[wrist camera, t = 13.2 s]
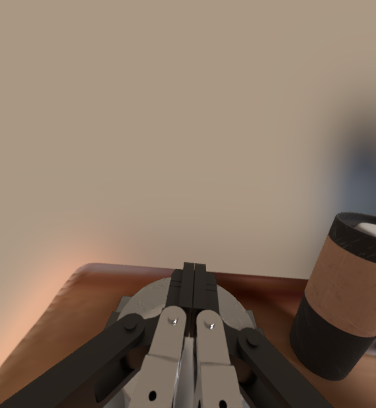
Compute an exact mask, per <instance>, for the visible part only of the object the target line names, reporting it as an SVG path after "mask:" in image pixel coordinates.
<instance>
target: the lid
mask: <svg viewBox="0 0 376 408" xmlns="http://www.w3.org/2000/svg"><path fill="white" fill-rule="evenodd" d="M170 280H171V277H168V278H164V279H161V280H158V281H155V282H153V283H151V284H149V285H147V286H145V287H144V288H142V289H141V290H140V291H138V292H137V293H136V294H135V295H134V296H133V297H132V298H131V299H130V300H129V301H128V302H127V304H126V305H125V307H124V308H123V310H122V311H121V313H120V315H119V317H118V320H119V319H121V318H122V317H123V316H125V315H127V314H130V313H136V314H139V315H141V316H142V317H143V318H144V319H148V318H152V317H155V316H157V315H159V314H160V313H161V312H162V311H163V310H164V308H165V304H166V299H167V294H168V290H169V285H170ZM217 292H218V302H219V312H220V316H221V318H222V320H223V321H224V322H225V323H226V324H227V325H229V326H230V327H232V328H235V329H237V330H239V331H240V330H241V329H243V328H246V327H249V328H253V329H255V328H254V325H253V323H252V321H251V319H250V317H249V315H248V313H247V312H246V310H245V309H244V307H243V306H242V305H241V304H240V302H239V301H238V300H237V299H236V298H235V297H234V296H233V295H231V294H230V293H229V292H228V291H226V290H225V289H223V288H222V287H220V286H218V285H217ZM118 320H117V321H118ZM190 323H191V320H190ZM192 351H193V338H190V329H189V337H185V346H184V350H183V354H182V360H181V366H180V373H179V379H178V386H177V392H176V399H175V406H174V408H193V368H192ZM139 373H140V371H139V372H138V373H137V374H136V375H135V376H134V377H133V378H132V379H131V380H130V381H129V382H128V383H127V384H126V385H125V386H124V387H123V388H122V391H123V393H124V395H125V396H126V398H127V399H128V401H129V402H130V401H131V398H132V395H133V392H134V389H135V386H136V382H137V379H138V376H139ZM240 395H241V394H240ZM241 399H242V404H243V402H244V401H245V400H244V398H243V397H242V395H241Z"/></svg>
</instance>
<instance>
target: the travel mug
mask: <svg viewBox="0 0 376 408" xmlns="http://www.w3.org/2000/svg"><path fill="white" fill-rule="evenodd" d="M375 338H376V216H372V215H367V214H362V213H354V212H341V213H339V214H337V215H336V217H335V219H334V221H333V224H332V226H331V228H330V231H329V233H328V235H327V238H326V240H325V243H324V245H323V247H322V250H321V252H320V255H319V257H318V259H317V262H316V264H315V267H314V269H313V271H312V274H311V277H310V279H309V281H308V283H307V286H306V288H305V291H304V294H303V297H302V300H301V302H300V305H299V308H298V311H297V314H296V317H295V320H294V323H293V326H292V329H291V332H290V343H291V346H292V348H293V350H294V352H295V354H296V355H297V357H298V358H299V360H300V361H301V362H302V363H303V364H304V365H305V366H306V367H307V368H308V369H310V370H311V371H312V372H314V373H315V374H317V375H318V376H320V377H322V378H325V379H328V380H333V381H338V380H342V379H344V378H345V377H346V376H347V375H348V374H349V372H350V371H351V370H352V369H353V367H354V366H355V365H356V363H357V362H358V361H359V359H360V358H361V357H362V355H363V354H364V353H365V351H366V350H367V349H368V347H369V346H370V345H371V344H372V342H373V341H374V340H375Z"/></svg>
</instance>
